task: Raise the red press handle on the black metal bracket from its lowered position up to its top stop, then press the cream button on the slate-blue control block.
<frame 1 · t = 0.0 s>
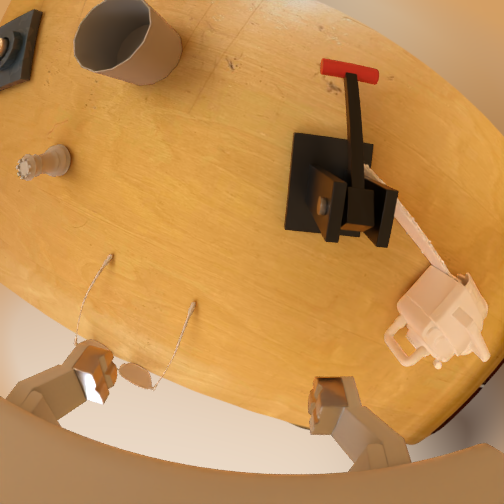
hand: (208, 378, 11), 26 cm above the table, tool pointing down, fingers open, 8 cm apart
cup: (149, 53, 28), on the table
rook chess piece: (61, 159, 33), on the table
eyeglasses: (133, 321, 42), on the table
press bracket: (327, 184, 33), on the table
press lever: (354, 133, 23), point 9 cm above the table, hinge at -28.0°
chainsaw: (403, 279, 37), on the table, touching press bracket
button block: (17, 52, 26), on the table
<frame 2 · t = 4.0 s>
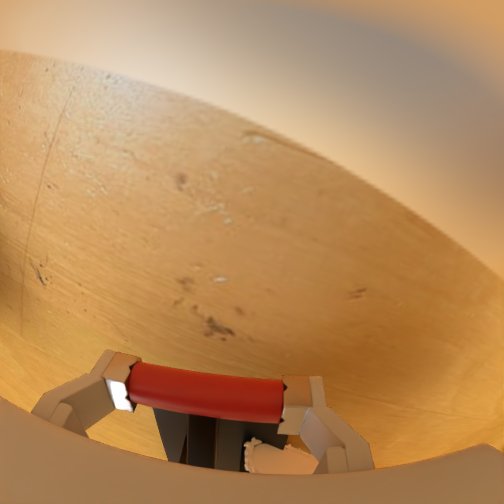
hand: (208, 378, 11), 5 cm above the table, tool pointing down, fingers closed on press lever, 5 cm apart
press bracket: (222, 442, 20), on the table
chainsaw: (339, 491, 23), on the table, touching press bracket
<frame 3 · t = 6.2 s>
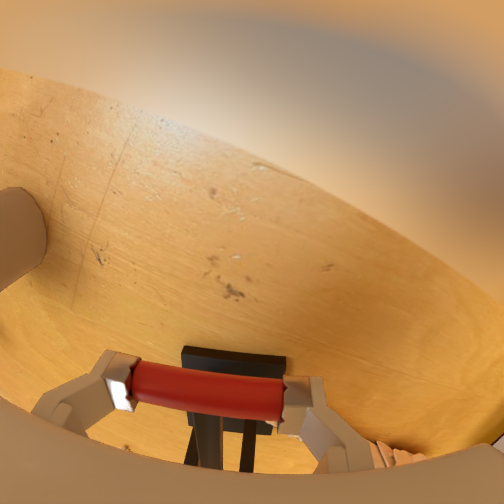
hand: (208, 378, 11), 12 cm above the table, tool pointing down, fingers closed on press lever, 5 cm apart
cup: (20, 228, 23), on the table
press bracket: (232, 392, 27), on the table
press lever: (212, 468, 13), point 12 cm above the table, hinge at 2.9°, touching gripper
chainsaw: (328, 452, 31), on the table, touching press bracket
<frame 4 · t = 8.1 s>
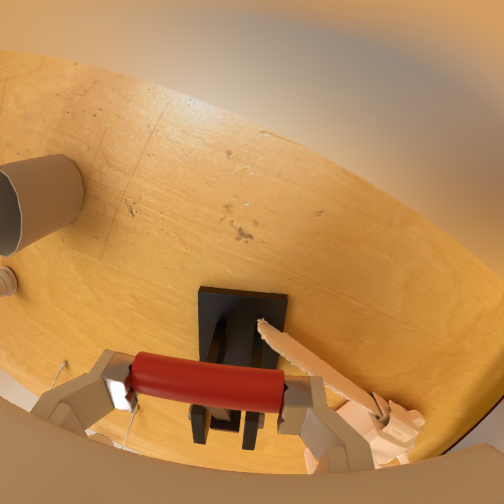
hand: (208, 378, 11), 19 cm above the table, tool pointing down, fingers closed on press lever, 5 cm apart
cup: (57, 190, 28), on the table
rook chess piece: (10, 278, 33), on the table
eyeglasses: (93, 407, 42), on the table
press bracket: (240, 333, 33), on the table
press lever: (220, 407, 16), point 16 cm above the table, hinge at 32.2°, touching gripper
chainsaw: (328, 403, 36), on the table, touching press bracket
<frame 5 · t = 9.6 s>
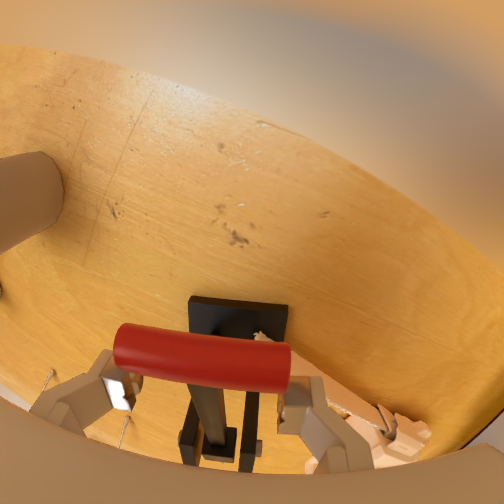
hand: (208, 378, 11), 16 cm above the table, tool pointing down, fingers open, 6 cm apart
cup: (36, 190, 25), on the table
press bracket: (236, 346, 29), on the table
press lever: (214, 421, 14), point 14 cm above the table, hinge at 19.7°
chainsaw: (330, 416, 33), on the table, touching press bracket
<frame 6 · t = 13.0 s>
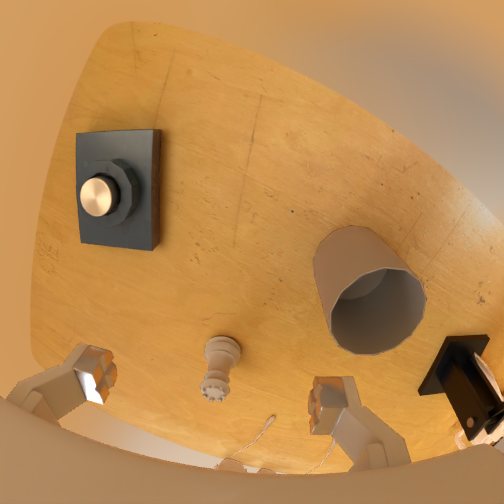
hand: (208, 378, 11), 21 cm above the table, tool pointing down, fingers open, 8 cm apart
cup: (350, 262, 31), on the table
rook chess piece: (223, 346, 36), on the table
cancel button: (99, 195, 25), point 4 cm above the table, slide at 0.1 cm
eyeglasses: (276, 448, 45), on the table
press bracket: (453, 363, 36), on the table
chainsaw: (472, 401, 40), on the table, touching press bracket
button block: (120, 186, 29), on the table
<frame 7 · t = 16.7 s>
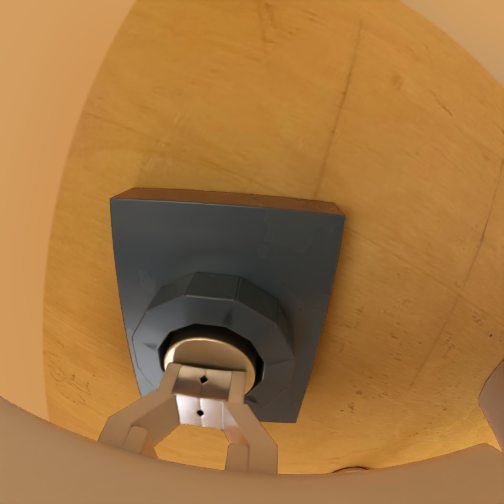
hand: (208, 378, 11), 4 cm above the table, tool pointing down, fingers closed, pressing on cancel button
cancel button: (211, 359, 12), point 4 cm above the table, slide at -0.8 cm, touching gripper
button block: (223, 312, 15), on the table
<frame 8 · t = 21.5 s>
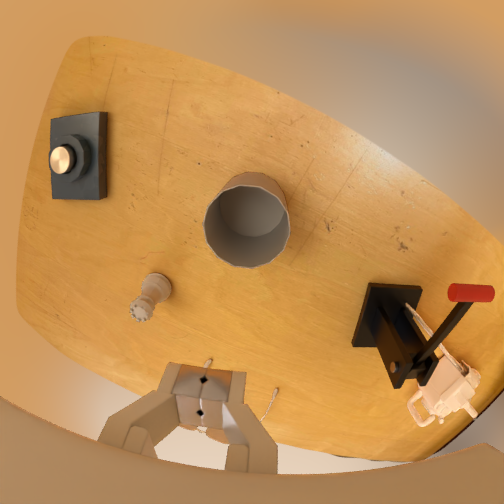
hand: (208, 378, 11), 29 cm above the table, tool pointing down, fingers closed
cup: (252, 204, 38), on the table
rook chess piece: (158, 284, 43), on the table
cancel button: (63, 159, 32), point 4 cm above the table, slide at 0.1 cm
eyeglasses: (222, 399, 52), on the table
press bracket: (385, 315, 43), on the table
press lever: (438, 336, 27), point 14 cm above the table, hinge at 19.7°
chainsaw: (423, 365, 47), on the table, touching press bracket
button block: (81, 155, 36), on the table
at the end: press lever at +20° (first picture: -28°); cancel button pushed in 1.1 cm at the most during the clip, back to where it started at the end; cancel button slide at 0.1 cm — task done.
